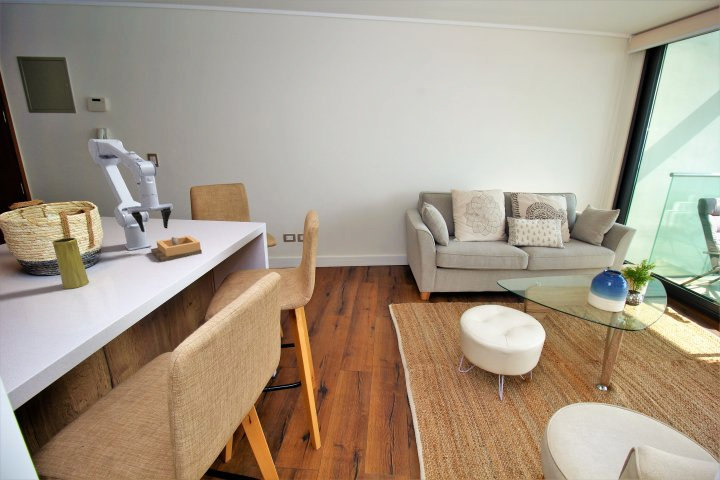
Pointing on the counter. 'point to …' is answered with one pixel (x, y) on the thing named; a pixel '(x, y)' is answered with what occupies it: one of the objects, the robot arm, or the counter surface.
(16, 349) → the counter surface
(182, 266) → the counter surface
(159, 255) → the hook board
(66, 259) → the vase
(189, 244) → the wooden square frame
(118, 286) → the counter surface
